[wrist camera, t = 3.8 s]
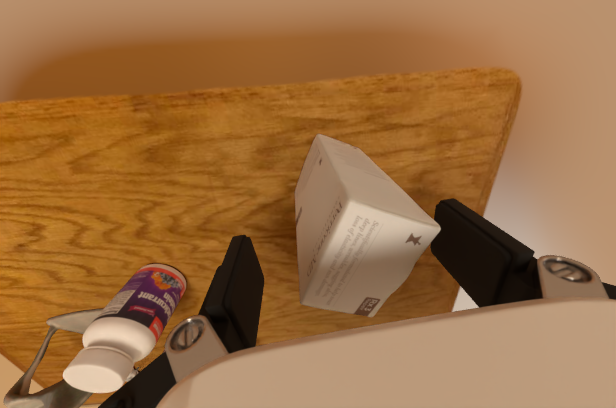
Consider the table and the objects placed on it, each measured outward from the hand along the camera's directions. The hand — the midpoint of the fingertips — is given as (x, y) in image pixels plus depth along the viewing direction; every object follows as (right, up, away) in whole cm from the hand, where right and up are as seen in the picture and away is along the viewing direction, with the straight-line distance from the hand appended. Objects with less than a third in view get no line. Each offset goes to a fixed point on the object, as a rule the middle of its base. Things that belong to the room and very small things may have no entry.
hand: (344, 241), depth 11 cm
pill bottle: (-18, -7, +14) cm, 24 cm away
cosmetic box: (0, +5, +9) cm, 10 cm away
